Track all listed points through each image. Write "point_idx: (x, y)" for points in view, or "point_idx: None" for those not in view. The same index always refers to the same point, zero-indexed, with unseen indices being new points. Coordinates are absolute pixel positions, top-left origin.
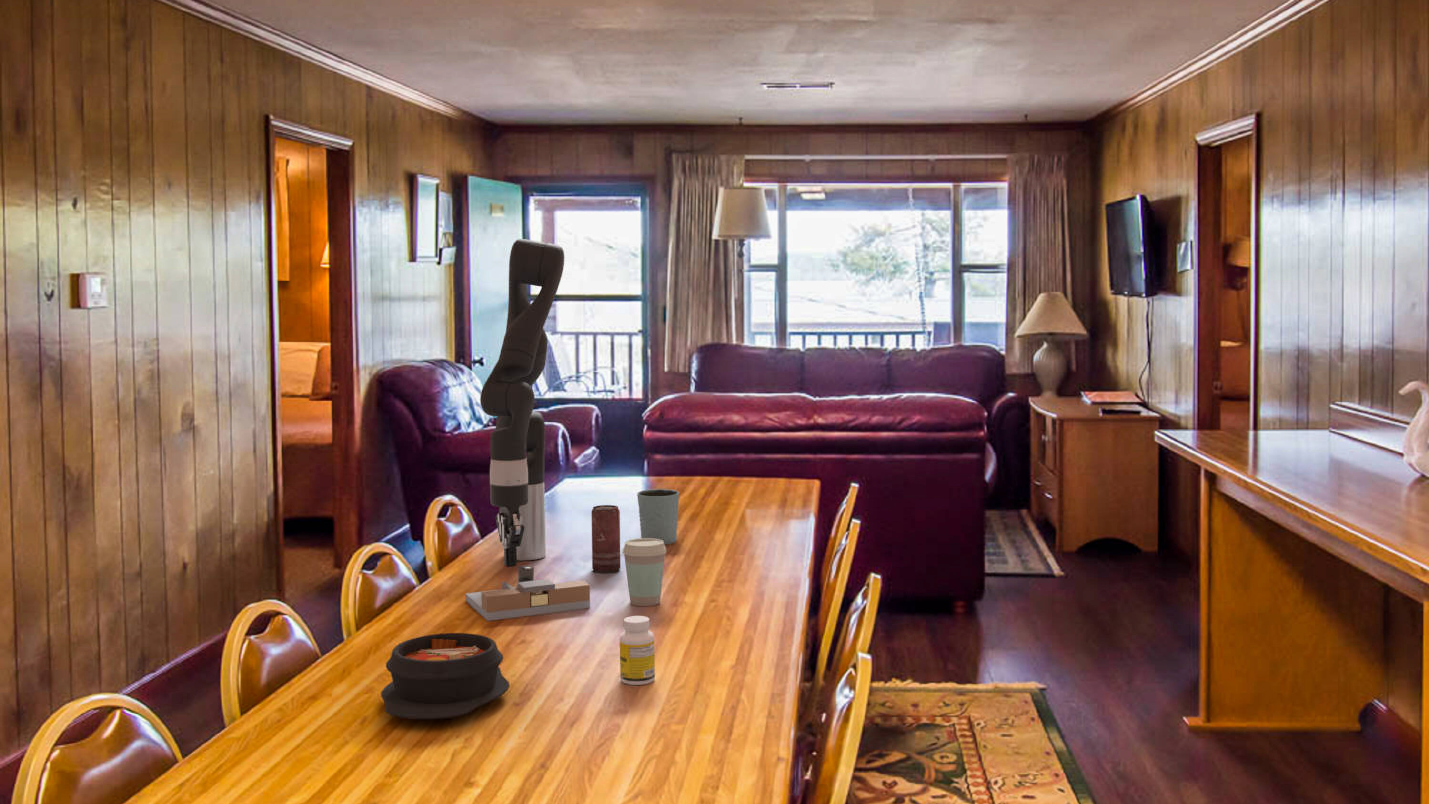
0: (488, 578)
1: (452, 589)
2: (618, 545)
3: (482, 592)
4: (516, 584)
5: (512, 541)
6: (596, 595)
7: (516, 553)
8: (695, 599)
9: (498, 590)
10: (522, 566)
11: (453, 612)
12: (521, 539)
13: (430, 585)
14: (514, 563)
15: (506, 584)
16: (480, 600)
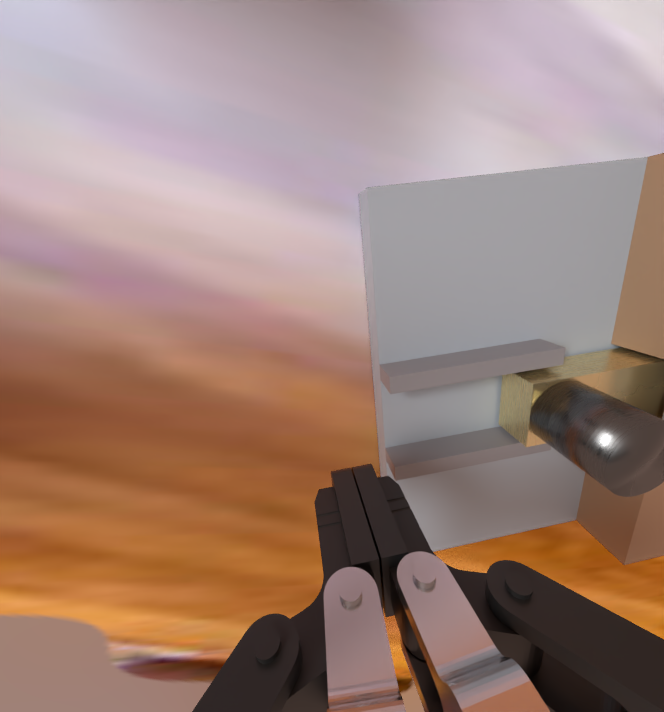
0: (57, 475)
1: (221, 575)
2: None
3: (631, 561)
4: (529, 445)
5: (540, 661)
6: (529, 50)
7: (393, 517)
8: None
9: (640, 519)
10: (612, 475)
11: (487, 560)
12: (642, 631)
13: (147, 629)
14: (392, 483)
15: (444, 467)
16: (496, 522)
